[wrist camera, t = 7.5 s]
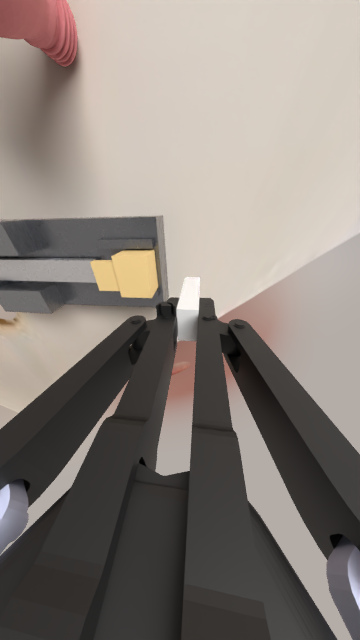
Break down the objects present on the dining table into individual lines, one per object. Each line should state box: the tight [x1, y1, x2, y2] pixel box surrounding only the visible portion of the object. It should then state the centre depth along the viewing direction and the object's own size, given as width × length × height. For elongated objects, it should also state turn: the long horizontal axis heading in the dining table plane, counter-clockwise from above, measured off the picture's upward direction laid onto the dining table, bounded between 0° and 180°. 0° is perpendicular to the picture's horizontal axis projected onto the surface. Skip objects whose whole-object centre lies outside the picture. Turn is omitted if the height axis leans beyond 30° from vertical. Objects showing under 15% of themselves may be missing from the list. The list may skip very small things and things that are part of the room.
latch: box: [90, 250, 158, 298], centre depth 21 cm, size 7×5×4 cm
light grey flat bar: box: [0, 258, 97, 283], centre depth 23 cm, size 18×3×1 cm, turn 91°
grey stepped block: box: [0, 216, 169, 313], centre depth 24 cm, size 28×12×7 cm, turn 91°
